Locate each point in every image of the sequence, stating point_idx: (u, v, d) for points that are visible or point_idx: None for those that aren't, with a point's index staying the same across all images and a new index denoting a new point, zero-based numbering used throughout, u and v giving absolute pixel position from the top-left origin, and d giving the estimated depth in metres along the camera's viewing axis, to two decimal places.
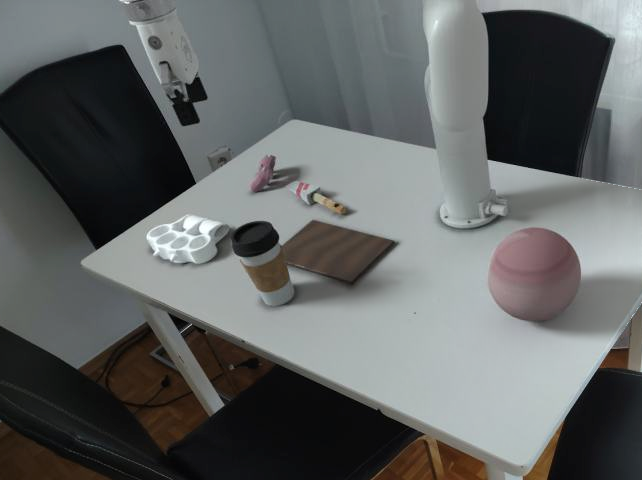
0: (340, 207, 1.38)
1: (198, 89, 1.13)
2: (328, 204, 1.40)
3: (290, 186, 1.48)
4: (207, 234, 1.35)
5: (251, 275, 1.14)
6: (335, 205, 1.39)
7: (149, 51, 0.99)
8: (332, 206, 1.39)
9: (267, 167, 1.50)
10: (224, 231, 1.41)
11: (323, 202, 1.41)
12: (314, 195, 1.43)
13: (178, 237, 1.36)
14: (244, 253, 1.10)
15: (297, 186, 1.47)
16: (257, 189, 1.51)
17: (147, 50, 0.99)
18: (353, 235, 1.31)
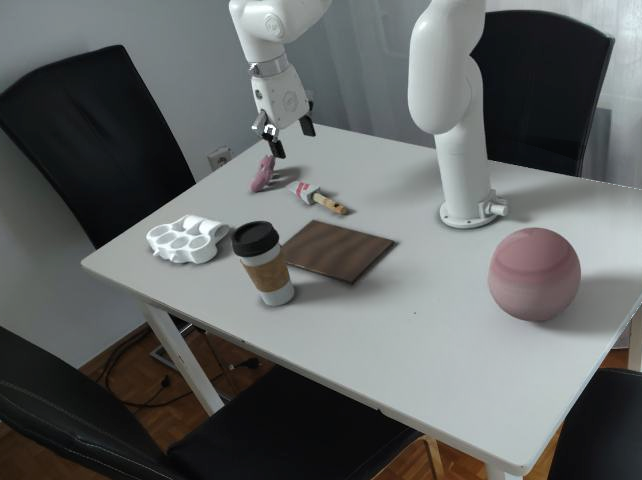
0: (340, 207, 1.38)
1: (308, 127, 1.36)
2: (328, 204, 1.40)
3: (290, 186, 1.48)
4: (207, 234, 1.35)
5: (251, 275, 1.14)
6: (335, 205, 1.39)
7: (255, 99, 1.24)
8: (332, 206, 1.39)
9: (267, 167, 1.50)
10: (224, 231, 1.41)
11: (323, 202, 1.41)
12: (314, 195, 1.43)
13: (178, 237, 1.36)
14: (244, 253, 1.10)
15: (297, 186, 1.47)
16: (257, 189, 1.51)
17: None
18: (353, 235, 1.31)
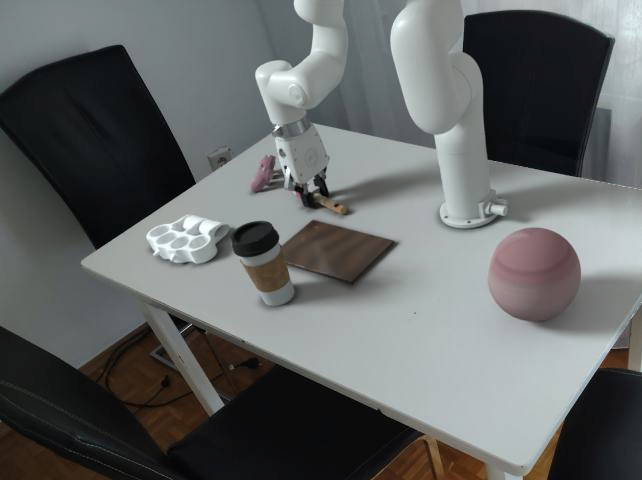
0: (340, 207, 1.38)
1: (322, 188, 1.44)
2: (328, 204, 1.40)
3: None
4: (207, 234, 1.35)
5: (251, 275, 1.14)
6: (335, 205, 1.40)
7: (279, 156, 1.33)
8: (332, 206, 1.39)
9: (267, 167, 1.50)
10: (224, 231, 1.41)
11: (323, 202, 1.41)
12: (314, 195, 1.43)
13: (178, 237, 1.36)
14: (244, 253, 1.10)
15: None
16: (257, 189, 1.51)
17: (278, 155, 1.34)
18: (353, 235, 1.31)
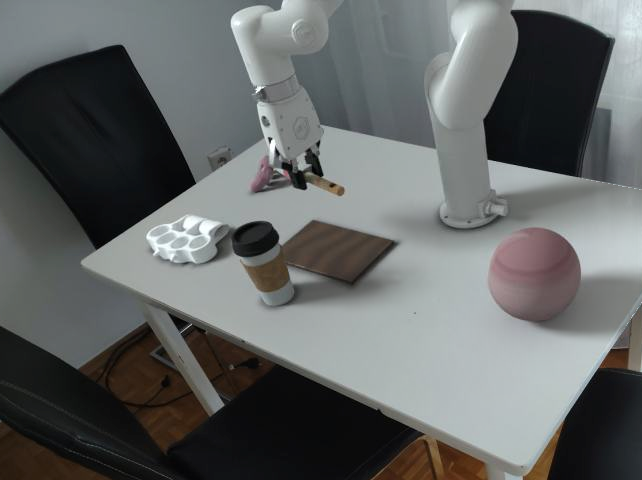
0: (337, 187, 1.15)
1: (315, 167, 1.21)
2: (322, 184, 1.17)
3: None
4: (207, 234, 1.35)
5: (251, 275, 1.14)
6: (331, 185, 1.16)
7: (262, 126, 1.10)
8: (327, 186, 1.16)
9: (267, 167, 1.50)
10: (224, 231, 1.41)
11: (316, 182, 1.18)
12: (305, 174, 1.20)
13: (178, 237, 1.36)
14: (244, 253, 1.10)
15: None
16: (257, 189, 1.51)
17: (261, 125, 1.10)
18: (353, 235, 1.31)
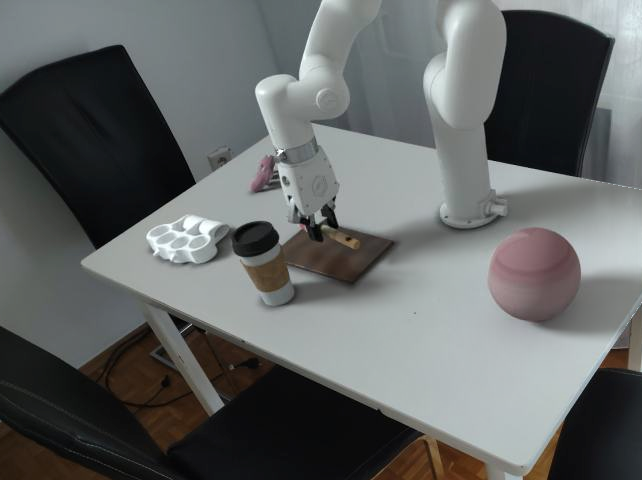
0: (353, 241, 1.20)
1: (331, 220, 1.26)
2: (338, 237, 1.22)
3: None
4: (207, 234, 1.35)
5: (251, 275, 1.14)
6: (347, 239, 1.22)
7: (282, 185, 1.15)
8: (343, 240, 1.21)
9: (267, 167, 1.50)
10: (224, 231, 1.41)
11: (332, 235, 1.23)
12: (321, 227, 1.25)
13: (178, 237, 1.36)
14: (244, 253, 1.10)
15: None
16: (257, 189, 1.51)
17: (281, 183, 1.15)
18: (353, 235, 1.31)
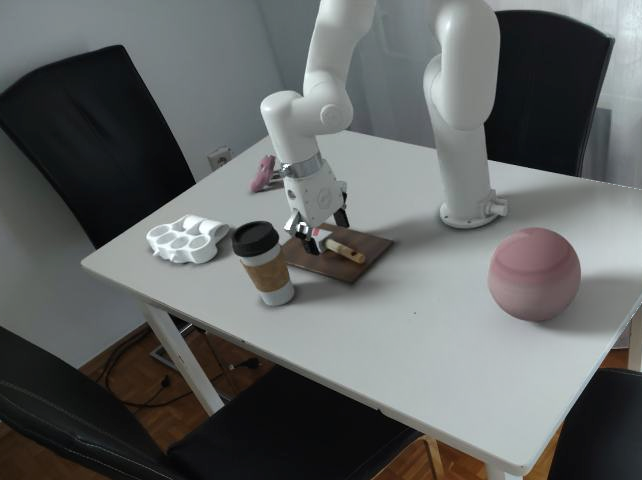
0: (358, 255, 1.23)
1: (342, 219, 1.28)
2: (344, 252, 1.24)
3: None
4: (207, 234, 1.35)
5: (251, 275, 1.14)
6: (352, 253, 1.24)
7: (288, 198, 1.17)
8: (349, 254, 1.24)
9: (267, 167, 1.50)
10: (224, 231, 1.41)
11: (338, 250, 1.25)
12: (326, 242, 1.27)
13: (178, 237, 1.36)
14: (244, 253, 1.10)
15: (305, 231, 1.31)
16: (257, 189, 1.51)
17: (287, 197, 1.17)
18: (353, 235, 1.31)
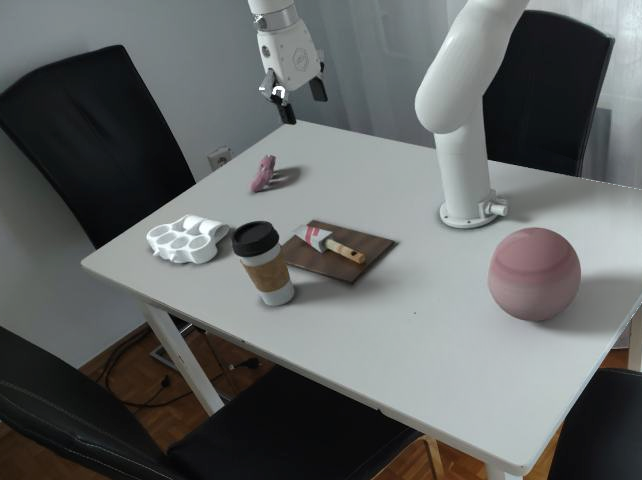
0: (358, 255, 1.23)
1: (319, 91, 1.24)
2: (344, 252, 1.24)
3: (297, 231, 1.32)
4: (207, 234, 1.35)
5: (251, 275, 1.14)
6: (352, 253, 1.24)
7: (262, 57, 1.13)
8: (349, 254, 1.24)
9: (267, 167, 1.50)
10: (224, 231, 1.41)
11: (338, 250, 1.25)
12: (326, 242, 1.27)
13: (178, 237, 1.36)
14: (244, 253, 1.10)
15: (305, 231, 1.31)
16: (257, 189, 1.51)
17: (261, 56, 1.13)
18: (353, 235, 1.31)
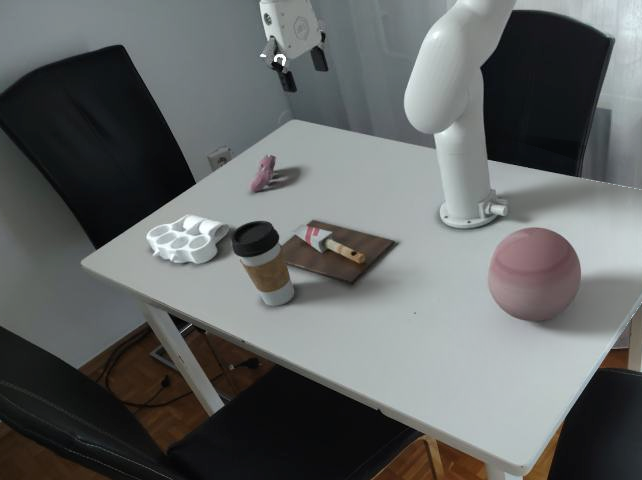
0: (358, 255, 1.23)
1: (320, 61, 1.27)
2: (344, 252, 1.24)
3: (297, 231, 1.32)
4: (207, 234, 1.35)
5: (251, 275, 1.14)
6: (352, 253, 1.24)
7: (264, 25, 1.16)
8: (349, 254, 1.24)
9: (267, 167, 1.50)
10: (224, 231, 1.41)
11: (338, 250, 1.25)
12: (326, 242, 1.27)
13: (178, 237, 1.36)
14: (244, 253, 1.10)
15: (305, 231, 1.31)
16: (257, 189, 1.51)
17: (263, 23, 1.17)
18: (353, 235, 1.31)
